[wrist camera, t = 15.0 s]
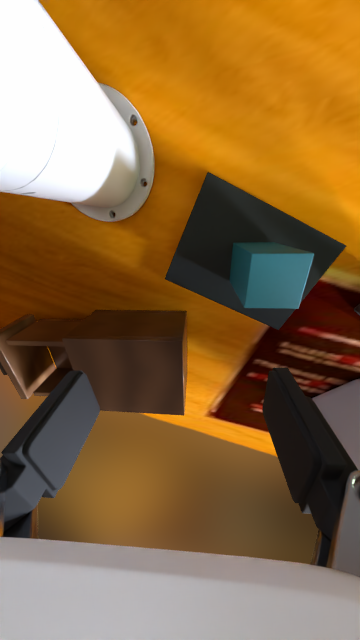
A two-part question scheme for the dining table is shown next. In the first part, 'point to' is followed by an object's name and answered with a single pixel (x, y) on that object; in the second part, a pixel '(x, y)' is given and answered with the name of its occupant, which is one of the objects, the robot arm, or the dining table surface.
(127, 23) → the dining table surface
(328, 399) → the plastic bottle
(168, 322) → the cabinet
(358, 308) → the box
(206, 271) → the mat
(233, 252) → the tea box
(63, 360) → the drawer
